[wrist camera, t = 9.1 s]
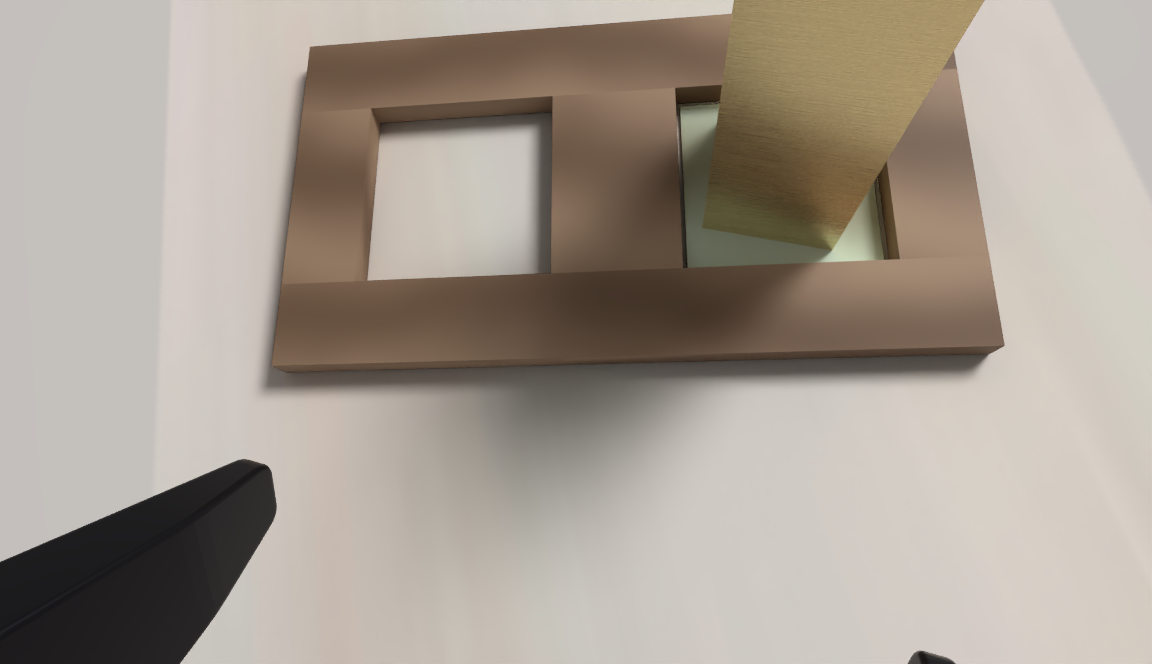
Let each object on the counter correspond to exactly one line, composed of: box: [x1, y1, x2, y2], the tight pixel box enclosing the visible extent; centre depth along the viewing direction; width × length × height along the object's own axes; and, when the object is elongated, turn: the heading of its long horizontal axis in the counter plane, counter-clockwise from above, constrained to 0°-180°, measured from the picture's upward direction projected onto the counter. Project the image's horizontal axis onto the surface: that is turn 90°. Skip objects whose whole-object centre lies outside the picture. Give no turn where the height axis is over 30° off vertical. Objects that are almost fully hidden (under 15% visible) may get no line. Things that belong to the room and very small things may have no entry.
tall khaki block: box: [702, 0, 984, 250], centre depth 20 cm, size 4×4×12 cm
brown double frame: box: [272, 14, 1005, 372], centre depth 26 cm, size 13×24×1 cm, turn 90°
